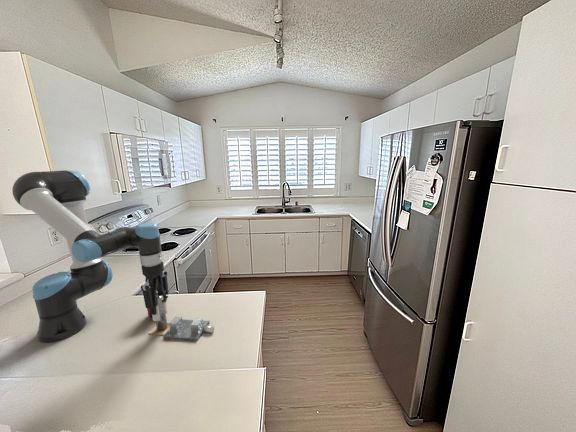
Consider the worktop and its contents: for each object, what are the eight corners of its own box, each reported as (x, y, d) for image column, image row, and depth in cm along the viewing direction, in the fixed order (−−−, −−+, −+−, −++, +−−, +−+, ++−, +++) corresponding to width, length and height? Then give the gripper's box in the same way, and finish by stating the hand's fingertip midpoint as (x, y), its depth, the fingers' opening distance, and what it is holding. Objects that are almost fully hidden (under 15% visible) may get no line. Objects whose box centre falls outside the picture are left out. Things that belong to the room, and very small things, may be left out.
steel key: (151, 331, 102) (146, 299, 99) (156, 325, 105) (151, 294, 102) (168, 330, 102) (163, 298, 99) (171, 324, 106) (167, 293, 103)
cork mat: (148, 334, 101) (148, 333, 101) (159, 323, 108) (159, 322, 108) (165, 335, 100) (164, 334, 100) (174, 324, 107) (174, 323, 107)
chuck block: (163, 338, 98) (161, 328, 97) (178, 321, 109) (177, 311, 108) (207, 341, 96) (206, 331, 95) (218, 323, 107) (217, 313, 106)
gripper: (147, 272, 89) (155, 331, 94) (173, 255, 105) (179, 305, 110) (127, 272, 90) (137, 330, 95) (156, 254, 106) (163, 304, 111)
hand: (160, 316), depth 103 cm, fingers closed on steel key, 4 cm apart
